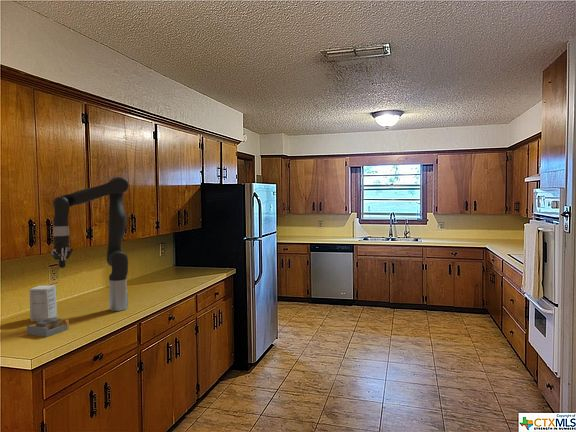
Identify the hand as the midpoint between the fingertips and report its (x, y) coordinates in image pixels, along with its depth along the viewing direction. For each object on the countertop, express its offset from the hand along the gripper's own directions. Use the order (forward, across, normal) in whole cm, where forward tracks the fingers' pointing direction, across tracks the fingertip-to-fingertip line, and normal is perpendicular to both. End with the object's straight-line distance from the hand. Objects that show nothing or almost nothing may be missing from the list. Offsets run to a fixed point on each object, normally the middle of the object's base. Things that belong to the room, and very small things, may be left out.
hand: (62, 267), depth 223 cm
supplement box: (+27, +4, -9) cm, 29 cm away
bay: (+27, +20, +12) cm, 35 cm away
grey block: (+27, +20, +12) cm, 36 cm away
